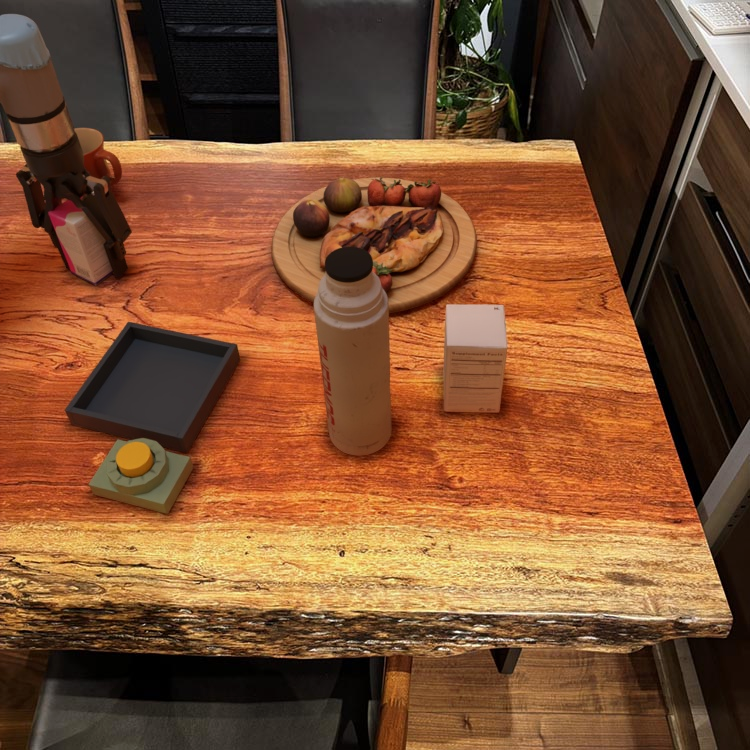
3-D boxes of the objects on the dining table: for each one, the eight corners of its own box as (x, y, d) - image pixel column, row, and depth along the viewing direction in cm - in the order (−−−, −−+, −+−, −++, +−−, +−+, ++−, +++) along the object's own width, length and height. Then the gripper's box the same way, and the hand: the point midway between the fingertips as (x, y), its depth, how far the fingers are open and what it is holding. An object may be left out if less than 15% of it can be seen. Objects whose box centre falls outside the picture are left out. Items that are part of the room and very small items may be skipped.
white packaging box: (442, 370, 108) (445, 301, 99) (497, 371, 108) (506, 303, 98) (441, 413, 103) (445, 345, 94) (499, 414, 103) (509, 346, 93)
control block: (93, 494, 97) (83, 475, 94) (122, 449, 101) (113, 429, 98) (168, 514, 94) (160, 495, 91) (193, 467, 99) (187, 447, 96)
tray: (71, 425, 104) (64, 410, 102) (133, 336, 114) (128, 321, 112) (187, 453, 100) (182, 438, 98) (240, 359, 111) (237, 343, 108)
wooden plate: (452, 336, 112) (454, 292, 106) (241, 299, 119) (231, 255, 113) (493, 202, 133) (497, 158, 126) (310, 176, 139) (306, 134, 133)
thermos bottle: (329, 458, 99) (308, 289, 78) (327, 408, 104) (307, 238, 83) (394, 453, 99) (390, 284, 78) (389, 404, 104) (384, 232, 84)
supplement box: (124, 265, 125) (103, 204, 116) (96, 286, 122) (72, 226, 113) (98, 252, 127) (76, 192, 119) (70, 273, 124) (45, 212, 115)
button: (113, 473, 94) (109, 464, 93) (130, 447, 97) (126, 438, 95) (143, 481, 93) (140, 472, 92) (159, 454, 96) (156, 445, 95)
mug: (57, 203, 136) (36, 150, 129) (90, 175, 142) (71, 123, 134) (114, 219, 133) (96, 166, 125) (146, 190, 138) (130, 137, 130)
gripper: (130, 133, 107) (168, 264, 124) (-3, 113, 112) (52, 242, 129) (101, 164, 103) (145, 296, 120) (-36, 142, 107) (25, 272, 124)
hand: (97, 268), depth 124 cm, fingers open, 8 cm apart
